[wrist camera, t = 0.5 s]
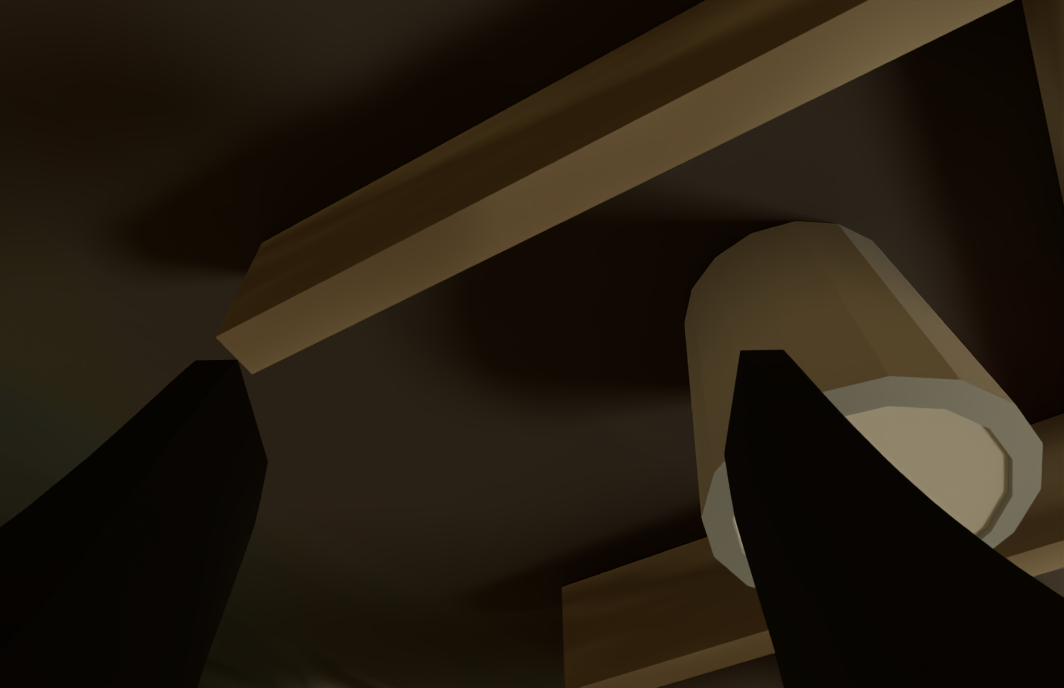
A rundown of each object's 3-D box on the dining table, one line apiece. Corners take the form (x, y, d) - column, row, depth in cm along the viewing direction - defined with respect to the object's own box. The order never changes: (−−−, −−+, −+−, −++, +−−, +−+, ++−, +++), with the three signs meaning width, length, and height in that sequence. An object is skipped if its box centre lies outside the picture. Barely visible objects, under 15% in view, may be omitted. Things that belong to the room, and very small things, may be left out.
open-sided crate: (1152, 411, 25) (1242, 514, 22) (577, 605, 31) (582, 709, 28) (1055, -192, 16) (1185, -164, 13) (261, 243, 22) (215, 337, 19)
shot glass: (843, 426, 26) (930, 629, 20) (627, 380, 25) (655, 581, 19) (972, 234, 22) (1124, 420, 16) (720, 169, 21) (791, 345, 15)
